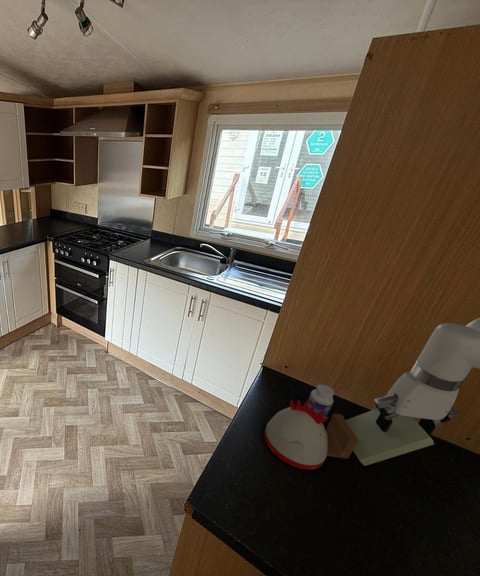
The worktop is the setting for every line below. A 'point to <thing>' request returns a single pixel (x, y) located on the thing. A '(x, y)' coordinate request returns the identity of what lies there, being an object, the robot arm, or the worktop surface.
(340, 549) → the worktop surface
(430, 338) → the robot arm
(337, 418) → the bookend
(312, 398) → the pill bottle
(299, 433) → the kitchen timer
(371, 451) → the book
